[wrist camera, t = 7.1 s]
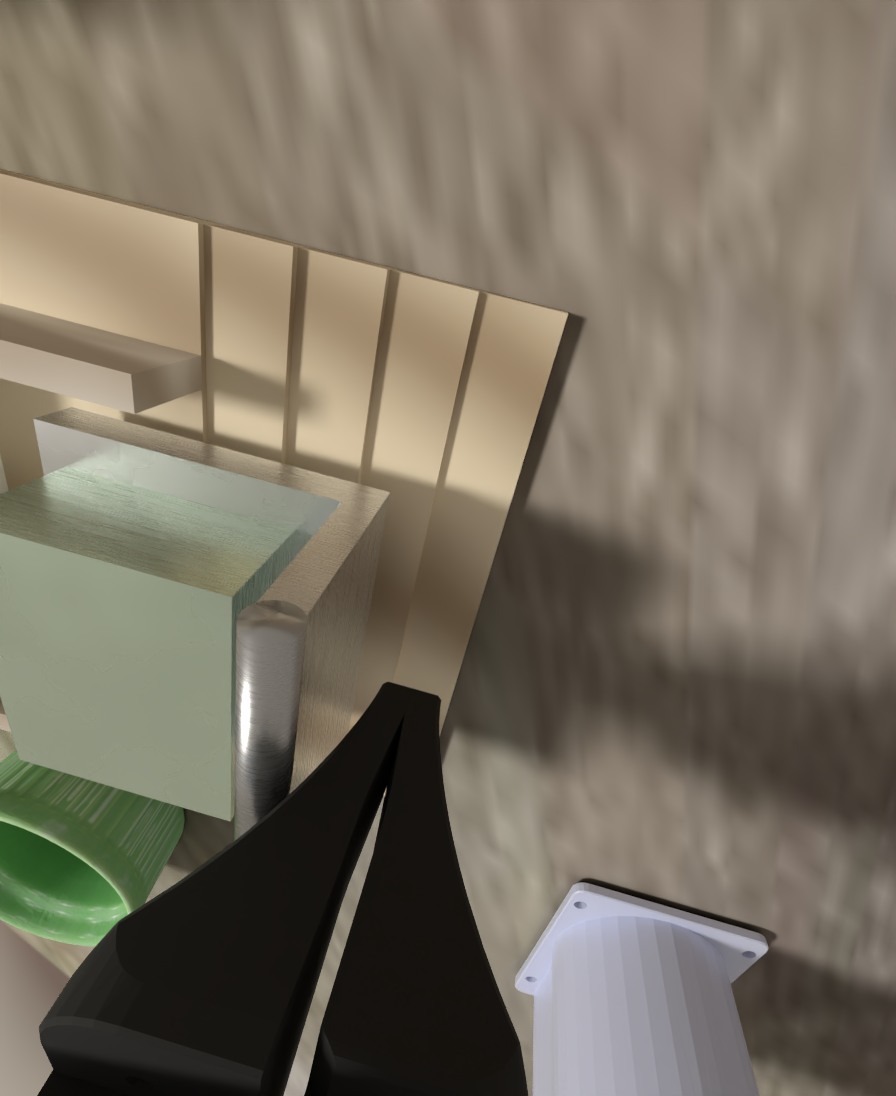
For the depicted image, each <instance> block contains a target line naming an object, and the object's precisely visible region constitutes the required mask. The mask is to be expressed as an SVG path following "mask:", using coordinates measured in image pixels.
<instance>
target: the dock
mask: <svg viewBox="0 0 896 1096" xmlns="http://www.w3.org/2000/svg"><path fill="white" fill-rule="evenodd" d="M567 316H568V312H565V311H561V310H557V309H553V308H549V307H545V306H541V305H537V304H533V303H529V302H525V301H521V300H517V299H513V298H510V297H506V296H502V295H498V294H494V293H490V292H486V291H482V290H478V289H474V288H470V287H466V286H462V285H458V284H454V283H450V282H446V281H442V280H438V279H434V278H430V277H426V276H422V275H418V274H414V273H410V272H406V271H402V270H398V269H394V268H390V267H386V266H383V265H379V264H375V263H371V262H367V261H363V260H359V259H355V258H351V257H347V256H343V255H339V254H335V253H331V252H327V251H323V250H319V249H315V248H311V247H307V246H303V245H299V244H295V243H291V242H287V241H283V240H279V239H275V238H271V237H267V236H263V235H260V234H256V233H252V232H248V231H244V230H240V229H236V228H232V227H228V226H224V225H220V224H216V223H212V222H208V221H204V220H200V219H196V218H192V217H188V216H184V215H180V214H176V213H172V212H168V211H164V210H160V209H156V208H152V207H148V206H144V205H140V204H136V203H133V202H129V201H125V200H121V199H117V198H113V197H109V196H105V195H101V194H97V193H93V192H89V191H85V190H81V189H77V188H73V187H69V186H65V185H61V184H57V183H53V182H49V181H45V180H41V179H37V178H33V177H29V176H25V175H21V174H17V173H13V172H9V171H6V170H2V169H0V494H2V493H4V492H7V491H9V490H12V489H14V488H16V487H19V486H21V485H23V484H26V483H28V482H31V481H33V480H35V479H38V478H40V477H42V476H44V473H43V467H42V462H41V457H40V452H39V446H38V441H37V436H36V431H35V425H34V420H33V419H34V418H37V417H41V416H44V415H47V414H51V413H54V412H57V411H60V410H64V409H67V408H70V407H74V408H77V409H81V410H85V411H88V412H92V413H96V414H100V415H103V416H107V417H111V418H115V419H118V420H122V421H126V422H130V423H133V424H137V425H141V426H144V427H148V428H152V429H156V430H159V431H163V432H167V433H171V434H174V435H178V436H182V437H185V438H189V439H193V440H197V441H200V442H204V443H208V444H212V445H215V446H219V447H223V448H227V449H230V450H234V451H238V452H241V453H245V454H249V455H253V456H256V457H260V458H264V459H268V460H271V461H275V462H279V463H283V464H286V465H290V466H294V467H297V468H301V469H305V470H309V471H312V472H316V473H320V474H324V475H327V476H331V477H335V478H338V479H342V480H346V481H350V482H353V483H357V484H361V485H365V486H368V487H372V488H376V489H380V490H383V491H387V492H390V497H389V502H388V508H387V514H386V520H385V526H384V531H383V537H382V543H381V549H380V554H379V560H378V566H377V572H376V577H375V583H374V589H373V595H372V601H371V606H370V612H369V618H368V624H367V629H366V635H365V641H364V647H363V653H362V658H361V664H360V670H359V676H358V681H357V687H356V693H355V699H354V704H353V710H352V716H351V722H350V728H349V731H350V730H351V728H352V727H353V726H354V725H355V724H356V722H357V721H358V720H359V719H360V717H361V716H362V715H363V713H364V712H365V711H366V709H367V708H368V707H369V705H370V704H371V702H372V701H373V699H374V698H375V696H376V695H377V693H378V691H379V690H380V688H381V686H382V684H383V683H386V682H392V683H395V684H399V685H402V686H406V687H409V688H413V689H417V690H420V691H424V692H427V693H431V694H434V695H438V696H439V698H440V699H441V706H440V719H439V736H440V734H441V730H442V727H443V724H444V721H445V717H446V714H447V711H448V707H449V704H450V701H451V698H452V694H453V691H454V688H455V684H456V681H457V678H458V675H459V671H460V668H461V665H462V661H463V658H464V655H465V652H466V648H467V645H468V642H469V638H470V635H471V632H472V629H473V625H474V622H475V619H476V615H477V612H478V609H479V606H480V602H481V599H482V596H483V592H484V589H485V586H486V583H487V579H488V576H489V573H490V569H491V566H492V563H493V560H494V556H495V553H496V550H497V546H498V543H499V540H500V537H501V533H502V530H503V527H504V523H505V520H506V517H507V514H508V510H509V507H510V504H511V500H512V497H513V494H514V491H515V487H516V484H517V481H518V477H519V474H520V471H521V468H522V464H523V461H524V458H525V454H526V451H527V448H528V445H529V441H530V438H531V435H532V431H533V428H534V425H535V422H536V418H537V415H538V412H539V408H540V405H541V402H542V399H543V395H544V392H545V389H546V385H547V382H548V379H549V376H550V372H551V369H552V366H553V362H554V359H555V356H556V353H557V349H558V346H559V343H560V339H561V336H562V333H563V330H564V326H565V323H566V320H567ZM0 729H2V730H5V731H9V732H11V730H10V727H9V723H8V720H7V717H6V714H5V710H4V707H3V704H2V701H1V697H0ZM385 793H386V790H385ZM385 793H384V795H383V796H385Z"/></svg>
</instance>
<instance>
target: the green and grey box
mask: <svg viewBox="0 0 896 1096" xmlns="http://www.w3.org/2000/svg"><path fill="white" fill-rule="evenodd" d="M33 420H34V425H35V431H36V436H37V441H38V446H39V452H40V457H41V462H42V467H43V473H44V476H42V477H40V478H38V479H35V480H33V481H31V482H28V483H26V484H23V485H21V486H19V487H16V488H14V489H12V490H9V491H7V492H4V493H2V494H0V697H1V701H2V704H3V707H4V710H5V714H6V717H7V720H8V723H9V727H10V730H11V733H12V736H13V740H14V743H15V746H16V750H17V753H18V756H19V759H20V760H23V761H26V762H30V763H33V764H37V765H40V766H43V767H47V768H50V769H54V770H57V771H60V772H64V773H67V774H71V775H74V776H77V777H81V778H84V779H87V780H91V781H94V782H98V783H101V784H104V785H108V786H111V787H115V788H118V789H121V790H125V791H128V792H132V793H135V794H138V795H142V796H145V797H149V798H152V799H155V800H159V801H162V802H166V803H169V804H172V805H176V806H179V807H182V808H186V809H189V810H193V811H196V812H199V813H203V814H206V815H210V816H213V817H216V818H220V819H223V820H227V821H230V822H231V820H232V818H233V816H234V841H235V840H236V839H238V838H239V837H240V836H241V835H243V834H244V833H245V832H246V831H248V830H249V829H250V828H251V827H252V826H254V825H255V824H256V823H257V822H258V821H260V820H261V819H262V818H263V817H264V816H266V815H267V814H268V813H269V812H270V811H271V810H273V809H274V808H275V807H276V806H277V805H278V804H279V803H280V802H282V801H283V800H284V799H285V798H286V797H287V796H288V795H289V794H290V793H291V792H292V791H293V790H295V789H296V788H297V787H298V786H299V785H300V784H301V783H302V782H303V781H304V780H305V779H306V778H307V777H308V776H309V775H310V774H311V773H312V772H313V771H314V770H315V769H316V768H317V767H318V765H319V764H320V763H321V762H322V761H323V760H324V759H325V758H326V757H327V756H328V755H329V754H330V753H331V752H332V751H333V750H334V748H335V747H336V746H337V745H338V744H339V743H340V742H341V740H342V739H343V738H344V737H345V736H346V734H347V733H348V732H349V728H350V722H351V716H352V710H353V704H354V699H355V693H356V687H357V681H358V676H359V670H360V664H361V658H362V653H363V647H364V641H365V635H366V629H367V624H368V618H369V612H370V606H371V601H372V595H373V589H374V583H375V577H376V572H377V566H378V560H379V554H380V549H381V543H382V537H383V531H384V526H385V520H386V514H387V508H388V502H389V497H390V492H387V491H383V490H380V489H376V488H372V487H368V486H365V485H361V484H357V483H353V482H350V481H346V480H342V479H338V478H335V477H331V476H327V475H324V474H320V473H316V472H312V471H309V470H305V469H301V468H297V467H294V466H290V465H286V464H283V463H279V462H275V461H271V460H268V459H264V458H260V457H256V456H253V455H249V454H245V453H241V452H238V451H234V450H230V449H227V448H223V447H219V446H215V445H212V444H208V443H204V442H200V441H197V440H193V439H189V438H185V437H182V436H178V435H174V434H171V433H167V432H163V431H159V430H156V429H152V428H148V427H144V426H141V425H137V424H133V423H130V422H126V421H122V420H118V419H115V418H111V417H107V416H103V415H100V414H96V413H92V412H88V411H85V410H81V409H77V408H74V407H70V408H67V409H64V410H60V411H57V412H54V413H51V414H47V415H44V416H41V417H37V418H34V419H33Z"/></svg>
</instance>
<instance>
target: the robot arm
mask: <svg viewBox="0 0 896 1096" xmlns="http://www.w3.org/2000/svg"><path fill="white" fill-rule="evenodd" d="M440 706H441V699H440V698H439V696H438V695H434V694H431V693H427V692H424V691H420V690H417V689H413V688H409V687H406V686H402V685H399V684H395V683H392V682H386V683H383V684H382V686H381V688H380V690H379V691H378V693H377V695H376V696H375V698H374V699H373V701H372V702H371V704H370V705H369V707H368V708H367V709H366V711H365V712H364V713H363V715H362V716H361V717H360V719H359V720H358V721H357V722H356V724H355V725H354V726H353V727H352V728H351V730H350V731H349V732H348V733H347V734H346V736H345V737H344V738H343V739H342V740H341V742H340V743H339V744H338V745H337V746H336V747H335V748H334V750H333V751H332V752H331V753H330V754H329V755H328V756H327V757H326V758H325V759H324V760H323V761H322V762H321V763H320V764H319V765H318V767H317V768H316V769H315V770H314V771H313V772H312V773H311V774H310V775H309V776H308V777H307V778H306V779H305V780H304V781H303V782H302V783H301V784H300V785H299V786H298V787H297V788H296V789H295V790H293V791H292V792H291V793H290V794H289V795H288V796H287V797H286V798H285V799H284V800H283V801H282V802H280V803H279V804H278V805H277V806H276V807H275V808H274V809H273V810H271V811H270V812H269V813H268V814H267V815H266V816H264V817H263V818H262V819H261V820H260V821H258V822H257V823H256V824H255V825H254V826H252V827H251V828H250V829H249V830H248V831H246V832H245V833H244V834H243V835H241V836H240V837H239V838H238V839H236V840H235V841H234V842H233V843H231V844H230V845H229V846H227V847H226V848H225V849H223V850H222V851H221V852H219V853H218V854H217V855H215V856H214V857H212V858H211V859H210V860H208V861H207V862H206V863H204V864H203V865H201V866H200V867H199V868H197V869H196V870H195V871H193V872H192V873H191V874H189V875H188V876H186V877H185V878H183V879H182V880H181V881H179V882H178V883H176V884H175V885H173V886H172V887H170V888H169V889H167V890H166V891H164V892H162V893H161V894H159V895H158V896H156V897H155V898H153V899H152V900H150V901H149V902H147V903H145V904H144V905H142V906H141V907H139V908H138V909H136V910H135V911H133V912H132V913H130V914H128V915H127V916H125V917H124V918H122V919H121V920H119V921H118V922H117V923H116V924H115V925H114V926H113V927H112V929H111V930H110V931H109V932H108V933H107V934H106V935H105V936H104V937H103V939H102V940H101V941H100V942H99V943H98V944H97V945H96V947H95V948H94V949H93V950H92V951H91V953H90V954H89V955H88V956H87V957H86V959H85V960H84V961H83V963H82V964H81V965H80V966H79V968H78V969H77V970H76V971H75V973H74V974H73V975H72V977H71V978H70V980H69V981H68V983H67V984H66V986H65V988H64V989H63V991H62V992H61V994H60V995H59V997H58V998H57V1000H56V1001H55V1003H54V1005H53V1006H52V1007H51V1009H50V1011H49V1012H48V1014H47V1015H46V1017H45V1018H44V1020H43V1021H42V1023H41V1024H40V1026H39V1032H40V1040H41V1044H42V1046H43V1048H44V1050H45V1052H46V1054H47V1056H48V1058H49V1060H50V1063H51V1064H52V1067H53V1071H52V1073H51V1074H50V1076H49V1078H48V1079H47V1081H46V1083H45V1084H44V1086H43V1087H42V1089H41V1091H40V1092H39V1094H38V1096H283V1095H284V1091H285V1088H286V1085H287V1081H288V1078H289V1075H290V1071H291V1068H292V1065H293V1061H294V1058H295V1055H296V1051H297V1048H298V1045H299V1041H300V1038H301V1035H302V1032H303V1028H304V1025H305V1022H306V1018H307V1015H308V1012H309V1008H310V1005H311V1002H312V998H313V995H314V992H315V989H316V985H317V982H318V979H319V976H320V972H321V969H322V966H323V962H324V959H325V956H326V953H327V949H328V946H329V943H330V940H331V936H332V933H333V930H334V927H335V923H336V920H337V917H338V914H339V910H340V907H341V904H342V901H343V898H344V895H345V893H346V890H347V887H348V884H349V881H350V879H351V876H352V874H353V871H354V869H355V866H356V864H357V861H358V859H359V856H360V854H361V851H362V848H363V846H364V843H365V841H366V838H367V836H368V833H369V831H370V828H371V826H372V823H373V821H374V818H375V816H376V813H377V811H378V808H379V805H380V803H381V800H382V798H383V795H384V793H385V790H386V793H385V798H384V803H383V808H382V813H381V818H380V823H379V827H378V832H377V837H376V842H375V847H374V852H373V856H372V859H371V863H370V866H369V869H368V873H367V876H366V879H365V883H364V886H363V889H362V893H361V896H360V899H359V903H358V906H357V909H356V913H355V916H354V919H353V923H352V926H351V929H350V933H349V936H348V939H347V943H346V946H345V949H344V952H343V956H342V959H341V962H340V966H339V969H338V972H337V975H336V979H335V982H334V985H333V988H332V992H331V995H330V998H329V1002H328V1005H327V1008H326V1011H325V1015H324V1018H323V1021H322V1024H321V1028H320V1033H319V1037H318V1042H317V1046H316V1051H315V1055H314V1059H313V1064H312V1068H311V1073H310V1077H309V1081H308V1085H307V1088H306V1092H305V1095H304V1096H528V1090H527V1083H526V1076H525V1069H524V1064H523V1058H522V1052H521V1046H520V1042H519V1039H518V1036H517V1034H516V1031H515V1029H514V1026H513V1024H512V1022H511V1019H510V1017H509V1014H508V1012H507V1009H506V1007H505V1004H504V1002H503V999H502V997H501V994H500V991H499V989H498V986H497V984H496V981H495V978H494V975H493V973H492V970H491V967H490V964H489V962H488V959H487V956H486V953H485V950H484V948H483V945H482V941H481V938H480V935H479V932H478V929H477V926H476V922H475V919H474V916H473V913H472V910H471V906H470V903H469V900H468V897H467V893H466V890H465V886H464V882H463V878H462V875H461V871H460V867H459V863H458V859H457V855H456V850H455V846H454V841H453V837H452V832H451V827H450V822H449V816H448V810H447V804H446V798H445V791H444V784H443V775H442V766H441V755H440V736H439V719H440ZM768 949H769V948H768V945H767V942H766V939H765V937H764V936H763V935H762V934H760V933H757V932H754V931H750V930H747V929H744V928H740V927H737V926H733V925H730V924H726V923H723V922H720V921H716V920H713V919H709V918H706V917H702V916H699V915H696V914H692V913H689V912H685V911H682V910H678V909H675V908H672V907H668V906H665V905H661V904H658V903H654V902H651V901H648V900H644V899H641V898H637V897H634V896H630V895H627V894H624V893H620V892H617V891H613V890H610V889H606V888H603V887H600V886H596V885H593V884H589V883H585V882H579V883H576V884H575V885H573V886H572V888H571V889H570V891H569V893H568V894H567V896H566V897H565V899H564V900H563V902H562V904H561V905H560V907H559V908H558V910H557V912H556V913H555V915H554V916H553V918H552V920H551V921H550V923H549V924H548V926H547V928H546V929H545V931H544V932H543V934H542V935H541V937H540V939H539V940H538V942H537V943H536V945H535V947H534V948H533V950H532V951H531V953H530V955H529V956H528V958H527V959H526V961H525V963H524V964H523V966H522V967H521V969H520V971H519V972H518V974H517V975H516V977H515V987H516V988H517V990H519V991H521V992H524V993H527V994H530V995H533V996H534V1036H533V1096H760V1095H759V1092H758V1088H757V1084H756V1080H755V1076H754V1072H753V1068H752V1065H751V1061H750V1057H749V1053H748V1049H747V1045H746V1041H745V1038H744V1034H743V1030H742V1026H741V1022H740V1018H739V1014H738V1011H737V1007H736V1003H735V999H734V995H733V991H732V987H731V983H733V982H734V981H735V980H736V979H737V978H738V977H739V976H740V975H741V974H743V973H744V972H745V971H746V970H747V969H748V968H749V967H750V966H751V965H753V964H754V963H755V962H756V961H757V960H758V959H759V958H760V957H761V956H763V955H764V954H765V953H766V952H767V950H768Z"/></svg>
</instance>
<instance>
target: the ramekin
mask: <svg viewBox="0 0 896 1096" xmlns="http://www.w3.org/2000/svg"><path fill="white" fill-rule="evenodd" d="M184 821H185V818H184V811H183V808H182V807H179V806H176V805H172V804H169V803H166V802H162V801H159V800H155V799H152V798H149V797H145V796H142V795H138V794H135V793H132V792H128V791H125V790H121V789H118V788H115V787H111V786H108V785H104V784H101V783H98V782H94V781H91V780H87V779H84V778H81V777H77V776H74V775H71V774H67V773H64V772H60V771H57V770H54V769H50V768H47V767H43V766H40V765H37V764H33V763H30V762H26V761H23V760H20V759H19V756H18V753H17V750H16V751H14V752H13V753H12V754H11V755H9V756H8V757H7V758H6V759H4V760H3V761H2V762H1V763H0V920H2V921H4V922H6V923H8V924H10V925H12V926H15V927H17V928H19V929H22V930H24V931H26V932H29V933H32V934H35V935H38V936H40V937H44V938H46V939H51V940H54V941H59V942H63V943H68V944H74V945H82V946H95V947H96V945H97V944H98V943H99V942H100V941H101V940H102V939H103V937H104V936H105V935H106V934H107V933H108V932H109V931H110V930H111V929H112V927H113V926H114V925H115V924H116V923H117V922H118V921H119V920H121V919H122V918H124V917H125V916H127V915H128V914H130V913H132V912H133V911H135V910H136V909H138V908H139V907H141V906H142V905H144V904H145V902H146V900H147V898H148V895H149V894H150V892H151V890H152V888H153V886H154V884H155V882H156V881H157V879H158V877H159V875H160V873H161V872H162V870H163V868H164V866H165V865H166V863H167V861H168V859H169V857H170V856H171V854H172V852H173V850H174V849H175V847H176V845H177V843H178V841H179V839H180V837H181V835H182V832H183V829H184Z"/></svg>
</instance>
